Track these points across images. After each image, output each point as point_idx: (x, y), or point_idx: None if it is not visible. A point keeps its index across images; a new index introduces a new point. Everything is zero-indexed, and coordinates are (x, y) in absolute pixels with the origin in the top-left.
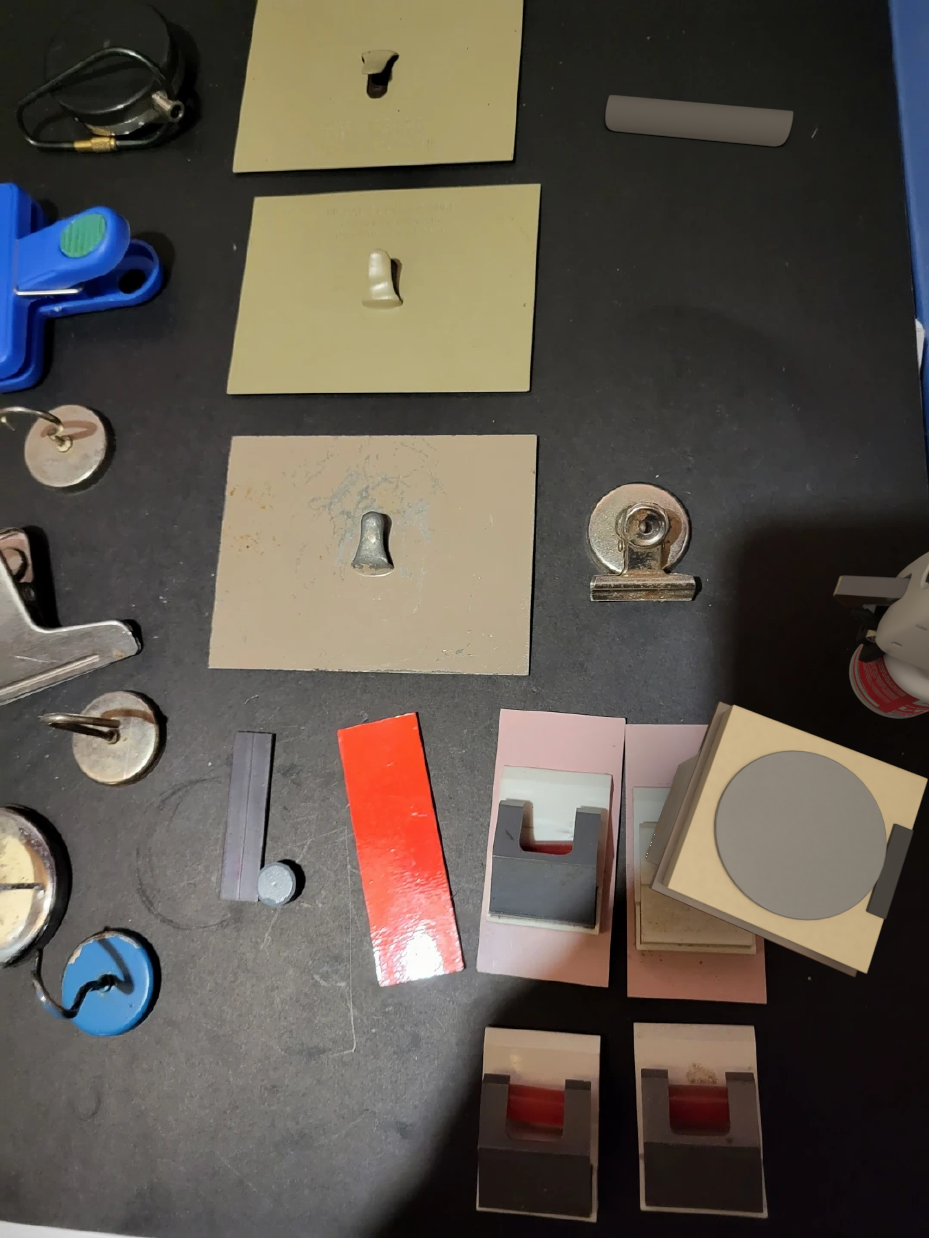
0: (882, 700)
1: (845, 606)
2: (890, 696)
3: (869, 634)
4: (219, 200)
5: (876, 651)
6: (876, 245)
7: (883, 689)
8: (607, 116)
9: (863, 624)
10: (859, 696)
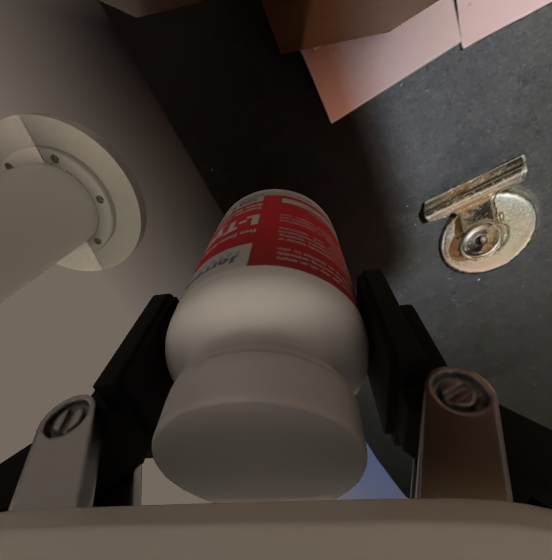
0: (287, 213)
1: None
2: (289, 231)
3: (498, 408)
4: None
5: (411, 339)
6: (374, 431)
7: (306, 237)
8: None
9: (525, 425)
10: (307, 199)
